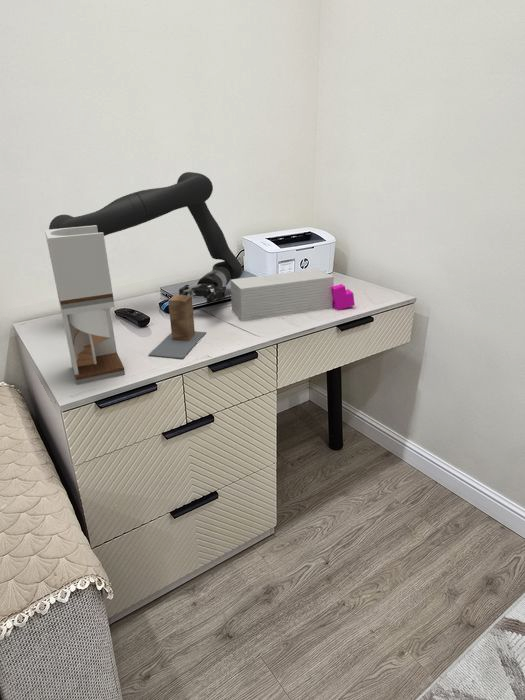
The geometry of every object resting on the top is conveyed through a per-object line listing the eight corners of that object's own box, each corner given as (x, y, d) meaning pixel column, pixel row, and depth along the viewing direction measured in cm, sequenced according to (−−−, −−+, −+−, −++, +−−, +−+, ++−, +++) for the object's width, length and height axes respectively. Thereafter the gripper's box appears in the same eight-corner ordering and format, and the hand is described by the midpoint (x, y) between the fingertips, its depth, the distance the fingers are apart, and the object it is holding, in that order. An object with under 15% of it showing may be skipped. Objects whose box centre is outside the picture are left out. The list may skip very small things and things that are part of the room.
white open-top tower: (77, 384, 117) (47, 238, 102) (72, 366, 126) (44, 230, 111) (125, 374, 121) (103, 233, 107) (117, 358, 130) (96, 225, 115)
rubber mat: (148, 356, 131) (148, 354, 131) (174, 330, 147) (174, 329, 146) (183, 359, 129) (183, 357, 128) (206, 333, 144) (205, 332, 144)
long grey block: (318, 298, 172) (319, 268, 167) (332, 307, 163) (333, 276, 158) (231, 310, 162) (230, 279, 157) (241, 321, 153) (240, 288, 148)
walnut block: (172, 339, 139) (168, 300, 134) (179, 333, 144) (175, 294, 139) (188, 341, 138) (185, 301, 133) (194, 334, 143) (191, 295, 138)
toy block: (354, 305, 161) (352, 284, 158) (337, 310, 160) (334, 289, 157) (337, 291, 174) (334, 271, 171) (321, 296, 174) (318, 276, 170)
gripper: (191, 271, 161) (171, 286, 147) (232, 274, 158) (216, 289, 143) (193, 293, 164) (174, 310, 150) (233, 296, 161) (217, 313, 147)
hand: (194, 299), depth 147 cm, fingers open, 8 cm apart
